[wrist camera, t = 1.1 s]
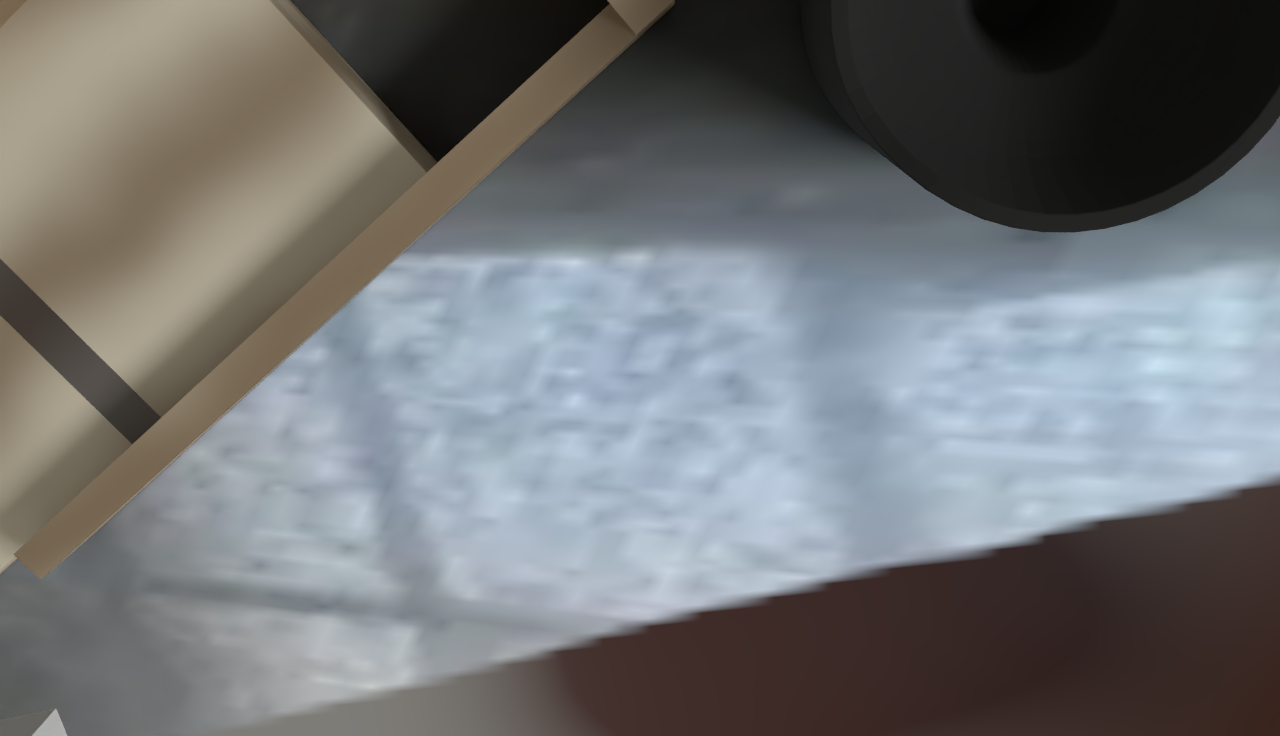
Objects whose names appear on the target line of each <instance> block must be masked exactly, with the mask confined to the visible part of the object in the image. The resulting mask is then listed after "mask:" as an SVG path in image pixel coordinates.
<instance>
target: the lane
mask: <svg viewBox="0 0 1280 736" xmlns="http://www.w3.org/2000/svg"><path fill="white" fill-rule="evenodd" d="M607 1H608V2H609V3H610V4H609V5H608V6H607V7H606V8H605V9H603V10H602V11H601V12H600V13H599V14H598V15H597V16H596V17H595V18H594V19H593V20H592V21H590V22H589V23H588V24H587V25H586V26H585V27H584V28H583V29H582V30H581V31H580V32H579V33H577V34H576V35H575V36H574V37H573V38H572V39H571V40H570V41H569V42H568V43H567V44H566V45H564V46H563V47H562V48H561V49H560V50H559V51H558V52H557V53H556V54H555V55H554V56H553V57H551V58H550V59H549V60H548V61H547V62H546V63H545V64H544V65H543V66H542V67H541V68H540V69H538V70H537V71H536V72H535V73H534V74H533V75H532V76H531V77H530V78H529V79H528V80H527V81H525V82H524V83H523V84H522V85H521V86H520V87H519V88H518V89H517V90H516V91H515V92H514V93H512V94H511V95H510V96H509V97H508V98H507V99H506V100H505V101H504V102H503V103H502V104H501V105H499V106H498V107H497V108H496V109H495V110H494V111H493V112H492V113H491V114H490V115H489V116H488V117H486V118H485V119H484V120H483V121H482V122H481V123H480V124H479V125H478V126H477V127H476V128H475V129H473V130H472V131H471V132H470V133H469V134H468V135H467V136H466V137H465V138H464V139H463V140H462V141H460V142H459V143H458V144H457V145H456V146H455V147H454V148H453V149H452V150H451V151H450V152H449V153H447V154H446V155H445V156H444V157H443V158H442V159H441V160H440V161H439V162H437V161H436V160H435V159H434V158H433V157H432V156H431V155H430V154H429V152H428V151H427V150H426V149H425V148H424V147H423V146H422V145H421V144H420V143H419V141H418V140H417V139H416V138H415V137H414V136H413V135H412V134H411V133H410V131H409V130H408V129H407V128H406V127H405V126H404V125H403V124H402V123H401V122H400V120H399V119H398V118H397V117H396V116H395V115H394V114H393V113H392V112H391V111H390V109H389V108H388V107H387V106H386V105H385V104H384V103H383V102H382V101H381V100H380V98H379V97H378V96H377V95H376V94H375V93H374V92H373V91H372V90H371V89H370V87H369V86H368V85H367V84H366V83H365V82H364V81H363V80H362V79H361V78H360V76H359V75H358V74H357V73H356V72H355V71H354V70H353V69H352V68H351V67H350V65H349V64H348V63H347V62H346V61H345V60H344V59H343V58H342V57H341V56H340V54H339V53H338V52H337V51H336V50H335V49H334V48H333V47H332V46H331V45H330V43H329V42H328V41H327V40H326V39H325V38H324V37H323V36H322V35H321V33H320V32H319V31H318V30H317V29H316V28H315V27H314V26H313V25H312V24H311V22H310V21H309V20H308V19H307V18H306V17H305V16H304V15H303V14H302V13H301V11H300V10H299V9H298V8H297V7H296V6H295V5H294V4H293V3H292V2H291V0H0V575H1V574H2V573H3V572H4V571H5V570H6V569H7V568H8V567H9V566H10V565H11V564H12V563H14V562H15V561H16V560H17V559H19V560H20V561H21V562H22V563H23V564H24V565H25V566H26V567H27V568H28V569H30V570H31V571H32V572H33V573H34V574H35V575H36V576H37V577H38V578H39V579H40V580H41V579H42V578H43V577H44V576H46V575H47V574H48V573H49V572H50V571H51V570H53V569H54V568H55V567H56V566H57V565H58V564H60V563H61V562H62V561H63V560H64V559H65V558H67V557H68V556H69V555H70V554H71V553H72V552H74V551H75V550H76V549H77V548H78V547H79V546H81V545H82V544H83V543H84V542H85V541H86V540H88V539H89V538H90V537H91V536H92V535H93V534H95V533H96V532H97V531H98V530H99V529H100V528H101V527H102V526H103V525H105V524H106V523H107V522H108V521H109V520H110V519H111V518H112V517H113V516H114V515H116V514H117V513H118V512H119V511H120V510H121V509H122V508H123V507H124V506H125V505H127V504H128V503H129V502H130V501H131V500H132V499H133V498H134V497H135V496H136V495H138V494H139V493H140V492H141V491H142V490H143V489H144V488H145V487H146V486H147V485H148V484H150V483H151V482H152V481H153V480H154V479H155V478H156V477H157V476H158V475H159V474H161V473H162V472H163V471H164V470H165V469H166V468H167V467H168V466H169V465H170V464H172V463H173V462H174V461H175V460H176V459H177V458H178V457H179V456H180V455H181V454H183V453H184V452H185V451H186V450H187V449H188V448H189V447H190V446H191V445H192V444H193V443H195V442H196V441H197V440H198V439H199V438H200V437H201V436H202V435H203V434H204V433H206V432H207V431H208V430H209V429H210V428H211V427H212V426H213V425H214V424H215V423H217V422H218V421H219V420H220V419H221V418H222V417H223V416H224V415H225V414H226V413H228V412H229V411H230V410H231V409H232V408H233V407H234V406H235V405H236V404H237V403H238V402H240V401H241V400H242V399H243V398H244V397H245V396H246V395H247V394H248V393H249V392H251V391H252V390H253V389H254V388H255V387H256V386H257V385H258V384H259V383H260V382H262V381H263V380H264V379H265V378H266V377H267V376H268V375H269V374H270V373H271V372H273V371H274V370H275V369H276V368H277V367H278V366H279V365H280V364H281V363H282V362H283V361H285V360H286V359H287V358H288V357H289V356H290V355H291V354H292V353H293V352H294V351H296V350H297V349H298V348H299V347H300V346H301V345H302V344H303V343H304V342H305V341H307V340H308V339H309V338H310V337H311V336H312V335H313V334H314V333H315V332H316V331H318V330H319V329H320V328H321V327H322V326H323V325H324V324H325V323H326V322H327V321H328V320H330V319H331V318H332V317H333V316H334V315H335V314H336V313H337V312H338V311H339V310H341V309H342V308H343V307H344V306H345V305H346V304H347V303H348V302H349V301H350V300H352V299H353V298H354V297H355V296H356V295H357V294H358V293H359V292H360V291H361V290H363V289H364V288H365V287H366V286H367V285H368V284H369V283H370V282H371V281H372V280H373V279H375V278H376V277H377V276H378V275H379V274H380V273H381V272H382V271H383V270H384V269H386V268H387V267H388V266H389V265H390V264H391V263H392V262H393V261H394V260H395V259H397V258H398V257H399V256H400V255H401V254H402V253H403V252H404V251H405V250H406V249H408V248H409V247H410V246H411V245H412V244H413V243H414V242H415V241H416V240H417V239H418V238H420V237H421V236H422V235H423V234H424V233H425V232H426V231H427V230H428V229H429V228H431V227H432V226H433V225H434V224H435V223H436V222H437V221H438V220H439V219H440V218H442V217H443V216H444V215H445V214H446V213H447V212H448V211H449V210H450V209H451V208H453V207H454V206H455V205H456V204H457V203H458V202H459V201H460V200H461V199H462V198H463V197H465V196H466V195H467V194H468V193H469V192H470V191H471V190H472V189H473V188H474V187H476V186H477V185H478V184H479V183H480V182H481V181H482V180H483V179H484V178H485V177H487V176H488V175H489V174H490V173H491V172H492V171H493V170H494V169H495V168H496V167H498V166H499V165H500V164H501V163H502V162H503V161H504V160H505V159H506V158H507V157H508V156H510V155H511V154H512V153H513V152H514V151H515V150H516V149H517V148H518V147H519V146H521V145H522V144H523V143H524V142H525V141H526V140H527V139H528V138H529V137H530V136H532V135H533V134H534V133H535V132H536V131H537V130H538V129H539V128H540V127H541V126H543V125H544V124H545V123H546V122H547V121H548V120H549V119H550V118H551V117H552V116H553V115H555V114H556V113H557V112H558V111H559V110H560V109H561V108H562V107H563V106H564V105H566V104H567V103H568V102H569V101H570V100H571V99H572V98H573V97H574V96H575V95H577V94H578V93H579V92H580V91H581V90H582V89H583V88H584V87H585V86H586V85H588V84H589V83H590V82H591V81H592V80H593V79H594V78H595V77H596V76H597V75H598V74H600V73H601V72H602V71H603V70H604V69H605V68H606V67H607V66H608V65H609V64H611V63H612V62H613V61H614V60H615V59H616V58H617V57H618V56H619V55H620V54H622V53H623V52H624V51H625V50H626V49H627V48H628V47H629V46H630V45H631V44H633V43H634V42H635V41H636V40H637V39H638V38H639V37H640V36H641V35H642V34H643V33H645V32H646V31H647V30H648V29H649V28H650V27H651V26H652V25H653V24H654V23H656V22H657V21H658V20H659V19H660V18H661V17H662V16H663V15H664V14H665V13H667V12H668V11H669V10H670V9H671V8H672V7H673V6H674V3H675V0H607Z"/></svg>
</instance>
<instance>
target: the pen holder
mask: <svg viewBox="0 0 1280 736" xmlns="http://www.w3.org/2000/svg"><path fill="white" fill-rule="evenodd" d="M801 23H802V34H803V39H804V43H805V48H806V53H807V56H808V59H809V62H810V65H811V67H812V70H813V73H814V76H815V78H816V80H817V82H818V84H819V85H820V87H821V89H822V91H823V93H824V95H825V96H826V98H827V99H828V101H829V102H830V103H831V105H832V106H833V108H834V109H835V111H836V112H837V113H838V114H839V115H840V116H841V117H842V119H843V120H844V121H845V122H846V123H847V124H848V125H849V126H850V127H851V128H852V129H853V130H854V131H855V132H856V133H857V134H858V135H859V136H860V137H861V138H862V139H863V140H864V141H866V142H867V143H868V144H869V145H871V146H872V147H873V148H874V149H875V150H877V151H878V152H879V153H880V154H882V155H883V156H884V157H885V158H887V159H888V160H889V161H890V162H892V163H893V164H894V165H895V166H897V167H898V168H899V169H900V170H902V171H903V172H904V173H906V174H907V175H908V176H909V177H911V178H912V179H913V180H914V181H916V182H917V183H918V184H920V185H921V186H922V187H923V188H925V189H926V190H928V191H929V192H931V193H933V194H934V195H936V196H938V197H939V198H941V199H942V200H944V201H946V202H947V203H949V204H951V205H952V206H954V207H956V208H959V209H961V210H963V211H965V212H968V213H970V214H972V215H974V216H977V217H979V218H981V219H984V220H988V221H991V222H995V223H998V224H1001V225H1005V226H1008V227H1012V228H1019V229H1025V230H1032V231H1039V232H1081V231H1089V230H1098V229H1106V228H1110V227H1114V226H1118V225H1122V224H1126V223H1130V222H1134V221H1137V220H1140V219H1143V218H1145V217H1148V216H1151V215H1153V214H1156V213H1158V212H1161V211H1164V210H1166V209H1168V208H1170V207H1172V206H1174V205H1176V204H1178V203H1180V202H1181V201H1183V200H1185V199H1187V198H1189V197H1191V196H1193V195H1195V194H1196V193H1198V192H1199V191H1201V190H1202V189H1204V188H1205V187H1207V186H1208V185H1209V184H1211V183H1212V182H1214V181H1215V180H1217V179H1218V178H1220V177H1221V176H1222V175H1224V174H1225V173H1226V172H1227V171H1228V170H1229V169H1231V168H1232V167H1233V166H1234V165H1235V164H1236V163H1237V162H1239V161H1240V160H1241V159H1242V158H1243V157H1244V156H1245V155H1247V154H1248V153H1249V152H1250V151H1251V150H1252V148H1253V147H1254V146H1255V145H1256V144H1257V143H1258V142H1259V141H1260V140H1261V139H1262V137H1263V136H1264V135H1265V134H1266V133H1267V132H1268V131H1269V130H1270V129H1271V127H1272V126H1273V125H1274V123H1275V122H1276V120H1277V119H1278V118H1279V116H1280V0H801Z"/></svg>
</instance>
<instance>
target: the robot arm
mask: <svg viewBox="0 0 1280 736" xmlns="http://www.w3.org/2000/svg"><path fill="white" fill-rule="evenodd" d="M0 736H67V734H66V732H65V729H64V727H63V724H62V722H61V719H60V717H59V715H58V712H57V710H56V708H54V709H50V710H45V711H40V712H35V713H30V714H25V715H20V716H16V717H11V718H6V719H1V720H0Z"/></svg>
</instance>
